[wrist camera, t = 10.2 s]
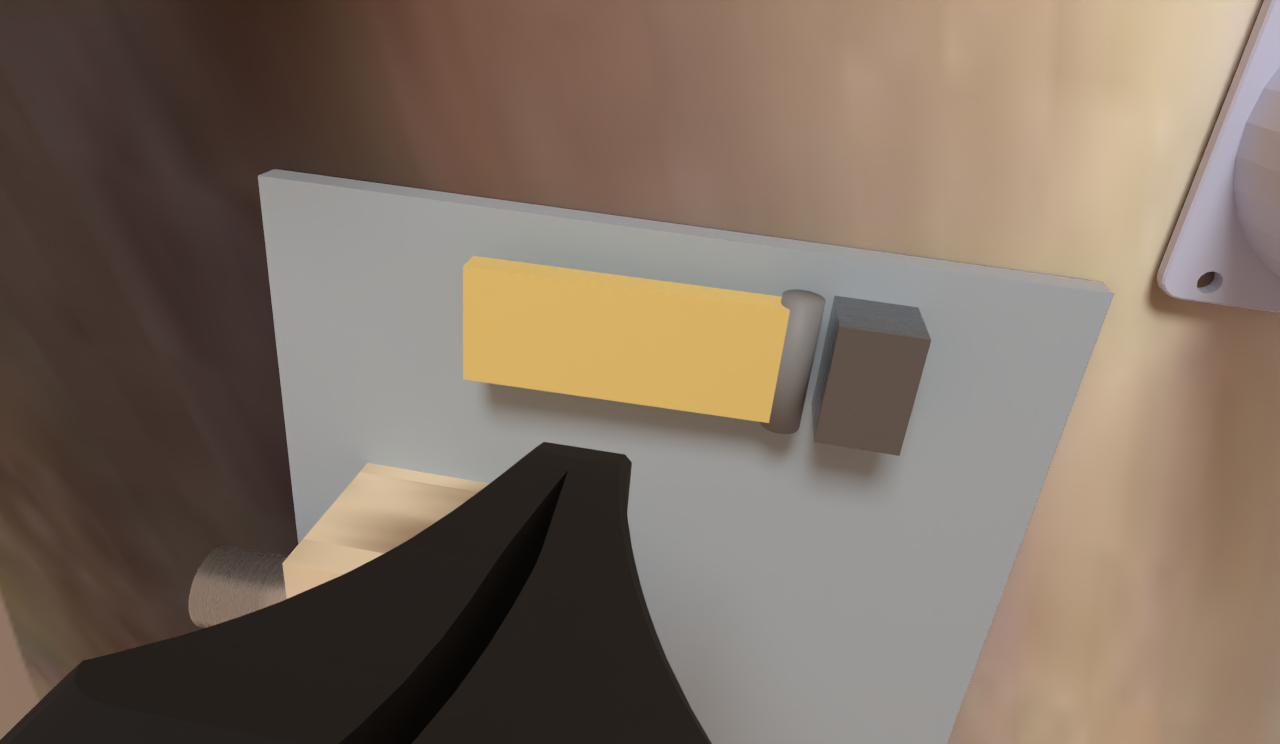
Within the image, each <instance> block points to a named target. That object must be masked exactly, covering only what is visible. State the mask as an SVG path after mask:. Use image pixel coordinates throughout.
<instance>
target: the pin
mask: <svg viewBox="0 0 1280 744" xmlns="http://www.w3.org/2000/svg"><path fill="white" fill-rule="evenodd" d="M287 557H288V556H284V555H279V554H273V553H268V552H262V551H257V550H252V549H246V548H241V547H235V546H230V545H222V546H219V547H217V548H215V549H214V550H213V551H212V552H211V553H209V555H208V556H207V557H206V558H205V559H204V561H203V562H202V564H201V565H200V567H199V569H198V571H197V573H196V575H195V578H194V580H193V583H192V586H191V590H190V596H189V613H190V617H191V619H192V621H193V623H194V624H195V625H197V626H199V627H204V628H207V627H210V626H213V625H216V624H219V623H222V622H225V621H229V620H232V619H235V618H238V617H240V616H243V615H246V614H249V613H251V612H254V611H257V610H260V609H262V608H265V607H268V606H271V605H273V604H276V603H278V602H281V601H283V600H286V599H287V597H286V589H285V581H284V573H283V565H282V563H283V562H284V561H285V560H286V558H287Z"/></svg>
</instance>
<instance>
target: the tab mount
mask: <svg viewBox="0 0 1280 744" xmlns="http://www.w3.org/2000/svg"><path fill="white" fill-rule="evenodd" d="M930 343H931V338H930V335H929V333H928V330H927V328H926V325H925V323H924V320H923V318H922V315H921V313H920V310H919V308H918V307H912V306H905V305H898V304H891V303H884V302H877V301H870V300H863V299H856V298H849V297H842V296H834V301H833V305H832V310H831V315H830V319H829V324H828V329H827V334H826V338H825V343H824V348H823V352H822V357H821V362H820V367H819V371H818V376H817V381H816V385H815V390H814V395H813V400H812V416H813V432H814V442H816V443H822V444H828V445H834V446H841V447H847V448H853V449H859V450H866V451H872V452H878V453H884V454H891V455H897V456H900V452H901V449H902V445H903V442H904V438H905V434H906V431H907V427H908V423H909V420H910V416H911V412H912V409H913V405H914V402H915V398H916V394H917V391H918V387H919V383H920V380H921V376H922V372H923V369H924V365H925V361H926V358H927V354H928V351H929V347H930Z"/></svg>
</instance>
